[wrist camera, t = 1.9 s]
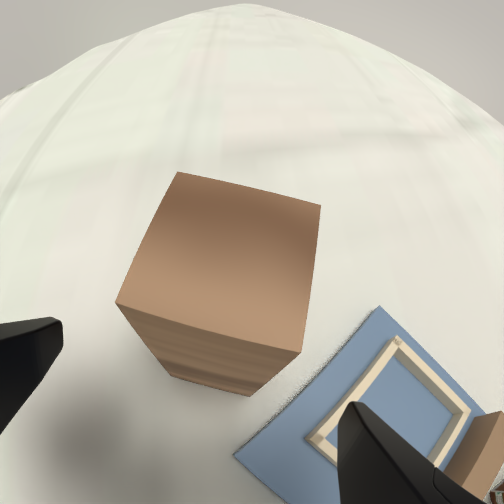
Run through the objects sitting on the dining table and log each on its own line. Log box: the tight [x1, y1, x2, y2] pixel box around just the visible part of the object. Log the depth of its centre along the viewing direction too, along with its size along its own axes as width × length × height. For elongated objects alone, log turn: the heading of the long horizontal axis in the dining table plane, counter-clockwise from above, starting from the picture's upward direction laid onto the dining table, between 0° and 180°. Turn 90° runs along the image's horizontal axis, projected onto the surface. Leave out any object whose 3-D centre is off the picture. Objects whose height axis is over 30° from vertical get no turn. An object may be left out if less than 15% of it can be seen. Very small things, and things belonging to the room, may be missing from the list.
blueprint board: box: [233, 306, 504, 504], centre depth 14 cm, size 14×17×4 cm
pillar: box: [115, 172, 321, 397], centre depth 14 cm, size 5×5×12 cm
